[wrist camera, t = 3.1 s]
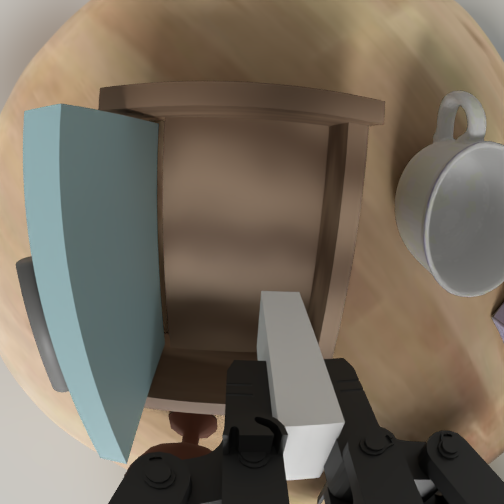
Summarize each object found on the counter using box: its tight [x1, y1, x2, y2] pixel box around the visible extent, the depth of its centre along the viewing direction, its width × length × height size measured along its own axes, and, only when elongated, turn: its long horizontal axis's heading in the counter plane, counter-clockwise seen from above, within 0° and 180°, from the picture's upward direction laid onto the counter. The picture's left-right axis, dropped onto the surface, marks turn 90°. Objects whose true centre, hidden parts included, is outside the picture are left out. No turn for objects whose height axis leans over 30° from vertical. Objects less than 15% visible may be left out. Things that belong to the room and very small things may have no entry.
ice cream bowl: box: [124, 411, 217, 476], centre depth 23 cm, size 11×11×15 cm
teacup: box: [395, 91, 504, 297], centre depth 19 cm, size 14×11×8 cm
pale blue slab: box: [16, 104, 165, 464], centre depth 16 cm, size 17×3×12 cm, turn 177°
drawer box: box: [98, 81, 385, 415], centre depth 20 cm, size 20×14×8 cm
